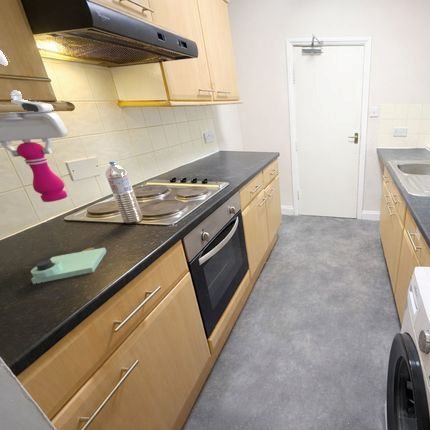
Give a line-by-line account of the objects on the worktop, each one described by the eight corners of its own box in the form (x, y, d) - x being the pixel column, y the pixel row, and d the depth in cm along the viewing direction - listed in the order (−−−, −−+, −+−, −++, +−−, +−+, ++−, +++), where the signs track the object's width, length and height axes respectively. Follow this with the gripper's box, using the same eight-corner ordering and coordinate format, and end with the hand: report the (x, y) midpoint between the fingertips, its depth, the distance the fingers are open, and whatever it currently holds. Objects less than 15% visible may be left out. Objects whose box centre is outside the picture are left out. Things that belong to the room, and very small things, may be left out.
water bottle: (122, 220, 110) (99, 161, 100) (141, 215, 114) (121, 158, 104) (125, 226, 106) (101, 164, 95) (145, 220, 110) (124, 161, 99)
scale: (32, 285, 74) (25, 275, 72) (54, 261, 84) (49, 252, 83) (93, 273, 78) (88, 263, 77) (106, 251, 89) (102, 242, 87)
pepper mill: (39, 199, 88) (7, 137, 79) (68, 193, 93) (40, 134, 84) (41, 204, 84) (7, 140, 75) (71, 197, 88) (42, 136, 80)
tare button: (36, 272, 74) (33, 267, 73) (42, 266, 77) (39, 261, 76) (50, 269, 75) (47, 264, 74) (56, 263, 78) (53, 258, 77)
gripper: (-50, 109, 70) (-19, 160, 76) (48, 105, 76) (69, 153, 82) (-32, 107, 75) (-5, 156, 81) (58, 104, 82) (77, 149, 88)
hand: (33, 154), depth 82 cm, fingers closed on pepper mill, 6 cm apart
